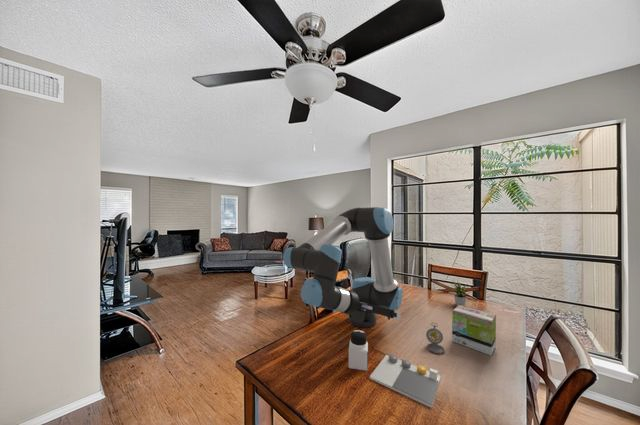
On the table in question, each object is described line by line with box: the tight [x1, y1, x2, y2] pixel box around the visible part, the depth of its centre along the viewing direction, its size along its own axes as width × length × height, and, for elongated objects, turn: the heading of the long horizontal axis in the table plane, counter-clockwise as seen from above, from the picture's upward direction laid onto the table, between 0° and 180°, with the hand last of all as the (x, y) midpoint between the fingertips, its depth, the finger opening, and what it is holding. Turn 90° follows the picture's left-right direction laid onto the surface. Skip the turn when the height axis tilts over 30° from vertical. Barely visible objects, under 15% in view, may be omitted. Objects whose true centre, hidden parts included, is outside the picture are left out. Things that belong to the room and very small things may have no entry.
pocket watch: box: [425, 322, 445, 355], centre depth 99 cm, size 8×8×10 cm
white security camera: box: [348, 329, 369, 372], centre depth 89 cm, size 7×7×12 cm
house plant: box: [448, 279, 473, 307], centre depth 149 cm, size 14×14×16 cm
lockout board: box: [369, 354, 442, 409], centre depth 81 cm, size 20×16×3 cm
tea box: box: [451, 305, 497, 357], centre depth 103 cm, size 15×10×15 cm
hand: (384, 312), depth 87 cm, fingers open, 13 cm apart
